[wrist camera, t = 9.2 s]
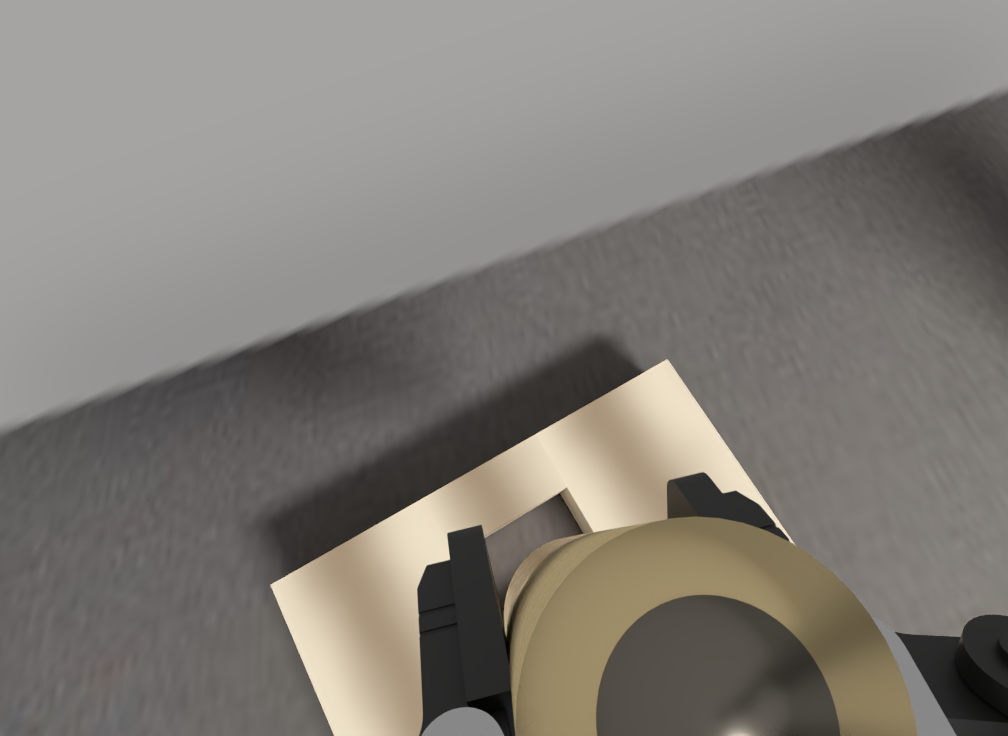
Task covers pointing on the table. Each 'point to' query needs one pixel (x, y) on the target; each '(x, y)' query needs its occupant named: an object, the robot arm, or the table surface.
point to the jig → (493, 504)
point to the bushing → (694, 639)
